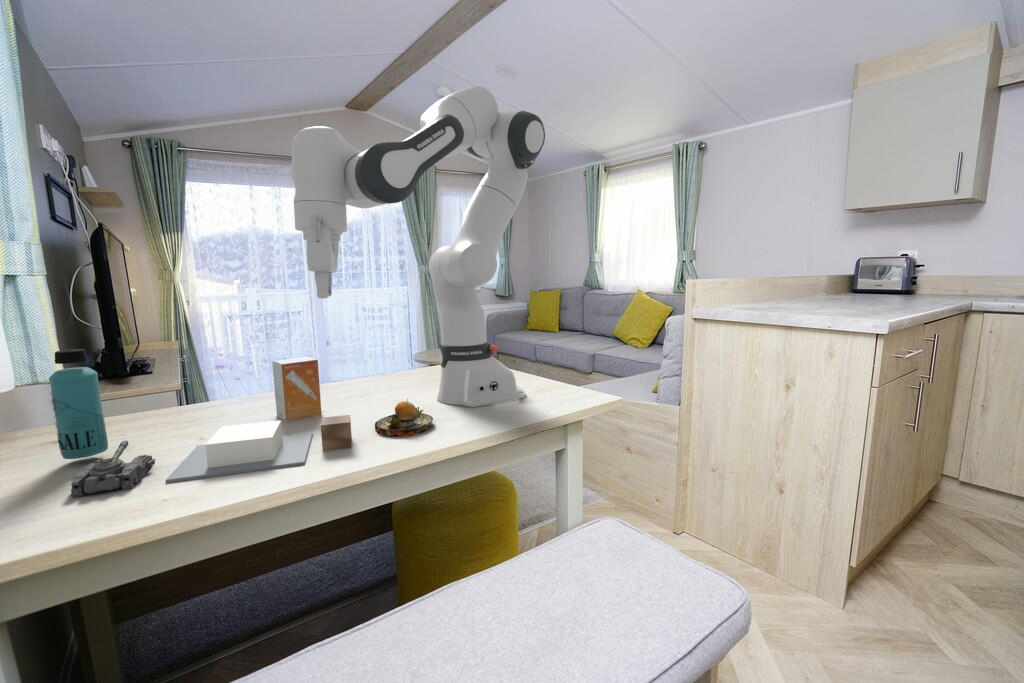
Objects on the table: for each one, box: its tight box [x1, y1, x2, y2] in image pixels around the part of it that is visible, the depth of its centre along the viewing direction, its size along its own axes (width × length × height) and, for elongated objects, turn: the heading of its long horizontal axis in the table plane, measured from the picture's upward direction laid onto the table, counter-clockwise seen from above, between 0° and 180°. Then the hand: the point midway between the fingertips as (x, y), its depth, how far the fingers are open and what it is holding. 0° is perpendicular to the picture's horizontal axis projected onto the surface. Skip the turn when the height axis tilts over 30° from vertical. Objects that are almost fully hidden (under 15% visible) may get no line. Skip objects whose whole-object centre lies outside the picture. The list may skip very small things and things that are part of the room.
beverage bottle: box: [48, 348, 109, 460], centre depth 82 cm, size 6×7×20 cm
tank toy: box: [70, 439, 156, 499], centre depth 75 cm, size 12×10×5 cm
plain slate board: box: [165, 432, 314, 484], centre depth 84 cm, size 20×16×1 cm
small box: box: [271, 356, 322, 422], centre depth 108 cm, size 8×6×13 cm
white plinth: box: [204, 419, 284, 468], centre depth 84 cm, size 10×10×4 cm
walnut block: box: [320, 414, 353, 452], centre depth 88 cm, size 5×5×5 cm
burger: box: [374, 398, 434, 438], centre depth 98 cm, size 12×12×8 cm
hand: (325, 297), depth 87 cm, fingers open, 8 cm apart
